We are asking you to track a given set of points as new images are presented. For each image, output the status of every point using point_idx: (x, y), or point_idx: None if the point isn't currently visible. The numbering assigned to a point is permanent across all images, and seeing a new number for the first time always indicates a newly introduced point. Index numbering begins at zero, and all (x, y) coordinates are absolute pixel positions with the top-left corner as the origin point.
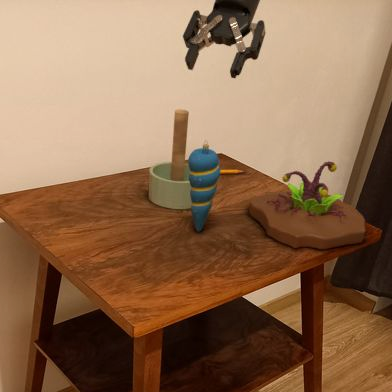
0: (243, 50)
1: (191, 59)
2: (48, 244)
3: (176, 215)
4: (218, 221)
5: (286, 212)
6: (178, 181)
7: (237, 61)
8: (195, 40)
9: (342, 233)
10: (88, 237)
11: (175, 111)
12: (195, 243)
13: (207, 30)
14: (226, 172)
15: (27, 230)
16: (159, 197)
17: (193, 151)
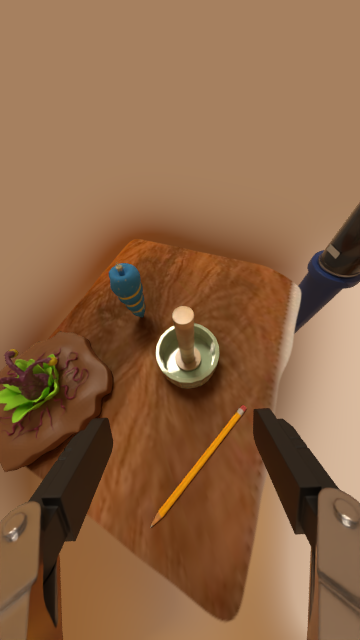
0: (14, 513)
1: (261, 423)
2: (211, 256)
3: None
4: (133, 341)
5: (66, 358)
6: (173, 328)
7: (71, 454)
8: (335, 516)
9: (17, 358)
10: (199, 271)
11: (189, 308)
12: None
13: None
14: (173, 492)
15: (233, 259)
16: None
17: (132, 267)
